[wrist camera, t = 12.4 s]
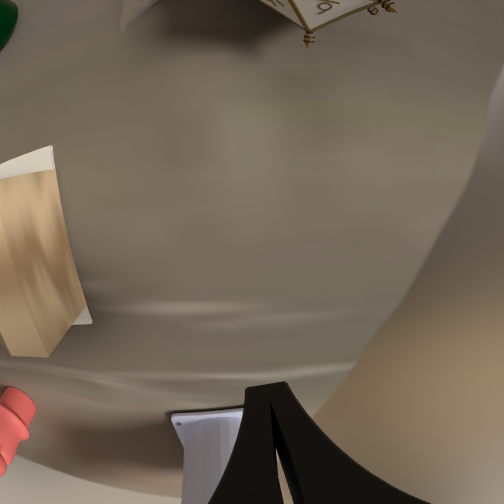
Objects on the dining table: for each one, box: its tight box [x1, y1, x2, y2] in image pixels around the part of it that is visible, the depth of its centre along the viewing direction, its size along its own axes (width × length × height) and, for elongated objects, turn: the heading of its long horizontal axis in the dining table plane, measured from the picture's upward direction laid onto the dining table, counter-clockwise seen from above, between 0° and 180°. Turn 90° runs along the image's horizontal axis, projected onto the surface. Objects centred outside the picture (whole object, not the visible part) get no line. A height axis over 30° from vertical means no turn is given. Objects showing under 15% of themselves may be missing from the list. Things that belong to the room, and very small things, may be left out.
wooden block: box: [0, 169, 87, 358], centre depth 13 cm, size 9×4×6 cm, turn 6°
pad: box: [0, 145, 92, 325], centre depth 16 cm, size 12×9×1 cm
